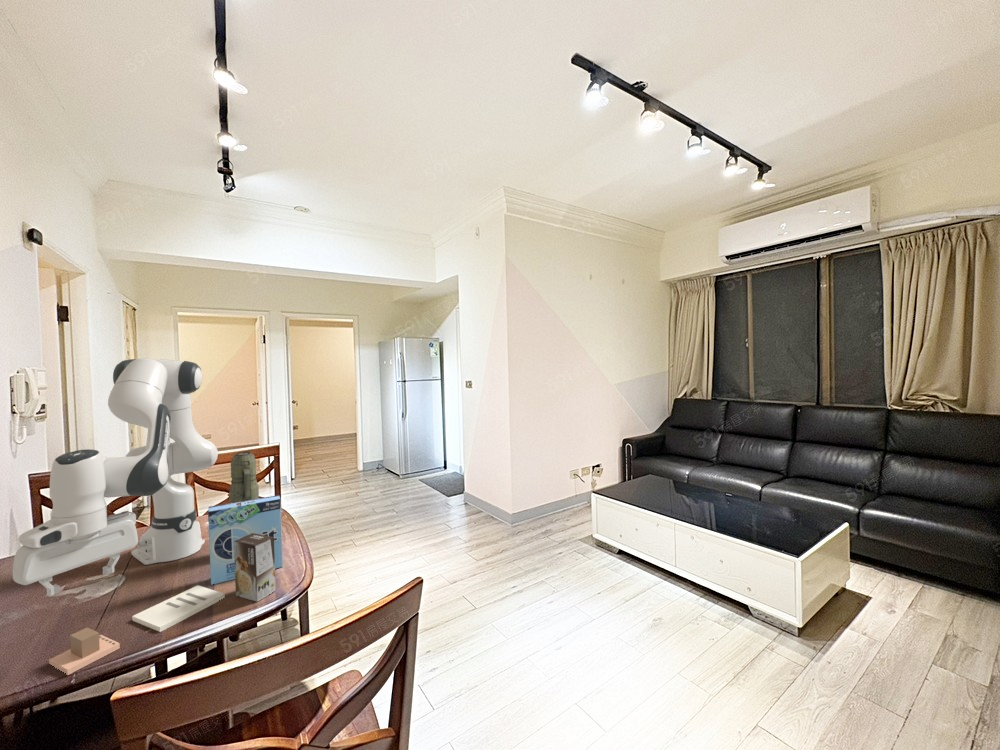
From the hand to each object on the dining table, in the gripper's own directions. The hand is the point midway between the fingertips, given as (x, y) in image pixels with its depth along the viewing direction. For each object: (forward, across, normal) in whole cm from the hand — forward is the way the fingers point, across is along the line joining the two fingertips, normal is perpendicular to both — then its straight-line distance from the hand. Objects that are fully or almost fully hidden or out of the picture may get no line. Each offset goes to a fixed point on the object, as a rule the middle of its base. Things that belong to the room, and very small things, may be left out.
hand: (82, 583), depth 93 cm
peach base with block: (+17, 0, 0) cm, 17 cm away
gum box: (+17, -40, -1) cm, 43 cm away
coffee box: (+17, -33, +12) cm, 39 cm away
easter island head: (+17, -50, -16) cm, 55 cm away
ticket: (+17, -20, 0) cm, 26 cm away
